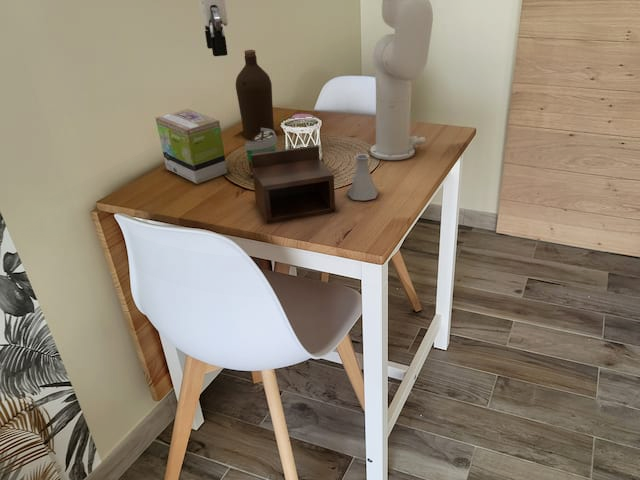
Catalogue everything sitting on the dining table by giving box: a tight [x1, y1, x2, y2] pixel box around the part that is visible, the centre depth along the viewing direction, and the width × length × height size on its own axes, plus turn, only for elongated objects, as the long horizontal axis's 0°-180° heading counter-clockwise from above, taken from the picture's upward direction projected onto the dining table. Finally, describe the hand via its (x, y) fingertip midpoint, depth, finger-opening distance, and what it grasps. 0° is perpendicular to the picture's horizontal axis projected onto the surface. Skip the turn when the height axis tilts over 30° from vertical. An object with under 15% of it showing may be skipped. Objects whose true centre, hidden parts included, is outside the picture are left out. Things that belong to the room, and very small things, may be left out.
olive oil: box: [235, 49, 275, 140], centre depth 172 cm, size 11×11×25 cm
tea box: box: [155, 108, 228, 185], centre depth 149 cm, size 15×10×15 cm, turn 47°
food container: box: [244, 128, 279, 179], centre depth 150 cm, size 12×6×10 cm, turn 168°
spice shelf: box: [250, 144, 336, 224], centre depth 130 cm, size 16×12×12 cm
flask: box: [347, 153, 379, 201], centre depth 136 cm, size 7×7×10 cm
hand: (217, 51), depth 133 cm, fingers open, 9 cm apart
